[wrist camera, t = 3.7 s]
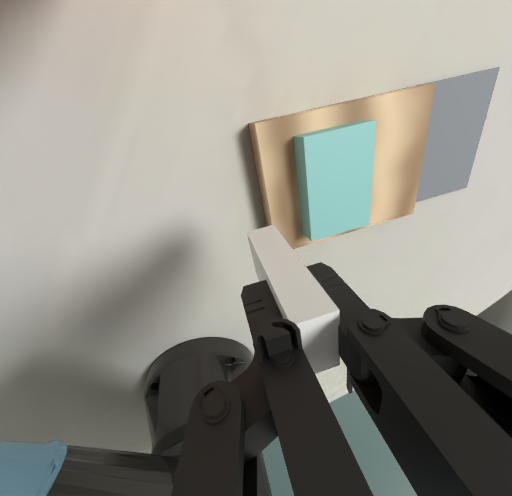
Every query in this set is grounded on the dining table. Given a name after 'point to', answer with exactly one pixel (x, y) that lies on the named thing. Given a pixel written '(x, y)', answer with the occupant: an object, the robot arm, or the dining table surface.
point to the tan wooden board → (384, 164)
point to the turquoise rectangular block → (335, 178)
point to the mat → (454, 132)
